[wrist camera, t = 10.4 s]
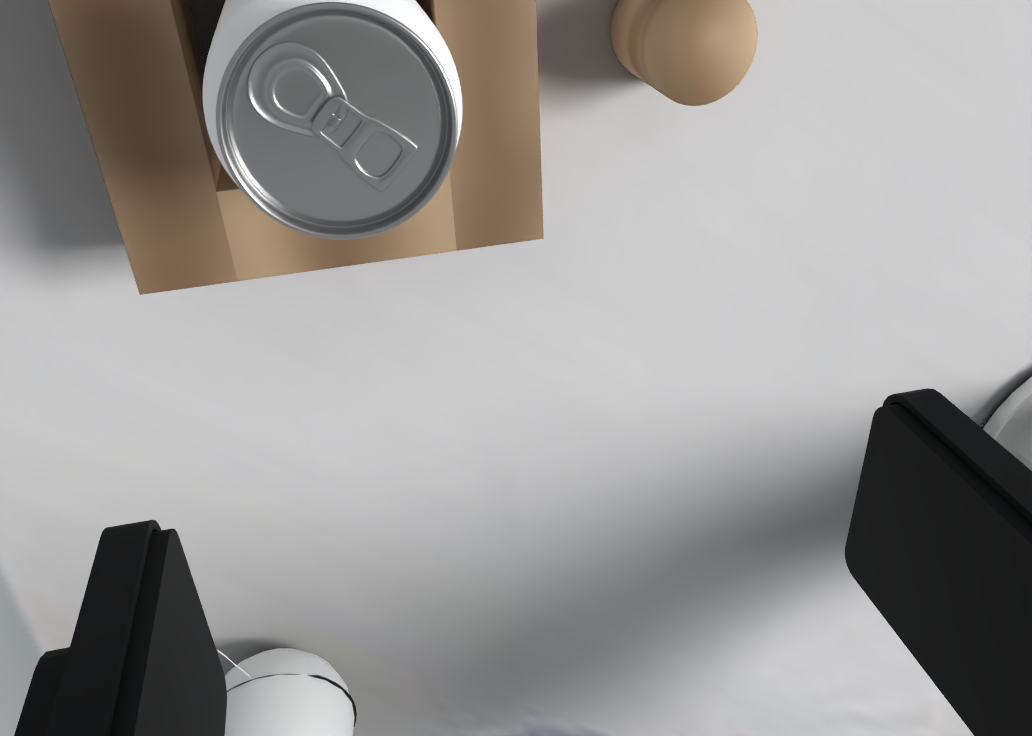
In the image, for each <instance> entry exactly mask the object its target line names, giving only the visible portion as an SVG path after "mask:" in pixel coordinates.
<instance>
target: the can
mask: <svg viewBox="0 0 1032 736" xmlns="http://www.w3.org/2000/svg"><path fill="white" fill-rule="evenodd" d="M203 109H204V116H205V122H206V126H207V130H208V134H209V137H210V140H211V143H212V145H213V148H214V150H215V152H216V154H217V156H218V158H219V160H220V162H221V164H222V165H223V167H224V168H225V170H226V171H227V173H228V174H229V176H230V177H231V178H232V180H233V181H234V182H235V183H236V184H237V185H238V187H239V188H240V189H241V190H242V191H243V193H244V194H245V195H246V196H247V197H248V198H249V200H250V201H251V202H252V203H253V204H254V205H255V206H257V207H258V208H259V209H260V210H261V211H262V212H264V213H265V214H266V215H268V216H269V217H270V218H272V219H273V220H275V221H277V222H278V223H280V224H282V225H284V226H286V227H288V228H290V229H292V230H295V231H297V232H300V233H303V234H306V235H310V236H314V237H318V238H324V239H334V240H349V239H359V238H365V237H370V236H374V235H377V234H380V233H383V232H386V231H388V230H390V229H393V228H395V227H397V226H399V225H400V224H402V223H404V222H405V221H407V220H408V219H410V218H411V217H413V216H414V215H415V214H416V213H418V212H419V211H420V210H421V209H422V208H423V207H424V206H425V205H426V204H427V203H428V202H429V201H430V200H431V199H432V198H433V196H434V195H435V194H436V192H437V191H438V189H439V188H440V186H441V185H442V183H443V181H444V179H445V178H446V176H447V173H448V171H449V169H450V166H451V163H452V161H453V157H454V153H455V150H456V147H457V144H458V140H459V136H460V131H461V124H462V93H461V86H460V81H459V77H458V73H457V70H456V66H455V63H454V61H453V58H452V56H451V53H450V51H449V49H448V47H447V45H446V43H445V41H444V40H443V38H442V36H441V35H440V33H439V31H438V30H437V28H436V27H435V25H434V24H433V23H432V21H431V20H430V18H429V17H428V16H427V14H426V13H425V12H424V11H423V9H422V8H421V7H420V6H419V4H418V3H417V2H416V1H415V0H226V1H225V4H224V6H223V9H222V12H221V15H220V18H219V21H218V24H217V27H216V30H215V33H214V37H213V40H212V43H211V46H210V50H209V53H208V57H207V61H206V66H205V72H204V78H203Z"/></svg>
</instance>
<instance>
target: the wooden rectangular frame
mask: <svg viewBox="0 0 1032 736" xmlns="http://www.w3.org/2000/svg"><path fill="white" fill-rule="evenodd" d="M48 2H49V5H50V9H51V12H52V15H53V18H54V21H55V25H56V28H57V31H58V34H59V37H60V41H61V44H62V47H63V50H64V53H65V57H66V60H67V63H68V66H69V69H70V73H71V76H72V79H73V82H74V85H75V89H76V92H77V95H78V98H79V101H80V105H81V108H82V111H83V114H84V117H85V121H86V124H87V127H88V130H89V133H90V137H91V140H92V143H93V146H94V149H95V153H96V156H97V159H98V162H99V165H100V169H101V172H102V175H103V178H104V181H105V185H106V188H107V191H108V194H109V197H110V201H111V204H112V207H113V210H114V213H115V217H116V220H117V223H118V226H119V229H120V233H121V236H122V239H123V242H124V245H125V249H126V252H127V255H128V258H129V261H130V265H131V268H132V271H133V274H134V277H135V281H136V284H137V287H138V290H139V293H140V295H142V294H149V293H156V292H163V291H170V290H177V289H185V288H192V287H199V286H206V285H213V284H220V283H228V282H235V281H242V280H249V279H256V278H264V277H271V276H278V275H285V274H292V273H299V272H307V271H314V270H321V269H328V268H335V267H342V266H350V265H357V264H364V263H371V262H378V261H385V260H393V259H400V258H407V257H414V256H421V255H429V254H436V253H443V252H450V251H457V250H464V249H472V248H479V247H486V246H493V245H500V244H507V243H515V242H522V241H529V240H536V239H543V209H542V177H541V146H540V114H539V83H538V51H537V20H536V0H417V3H418V4H419V6H420V7H421V8H422V9H423V11H424V12H425V13H426V14H427V16H428V17H429V18H430V20H431V21H432V23H433V24H434V25H435V27H436V28H437V30H438V31H439V33H440V35H441V36H442V38H443V40H444V41H445V43H446V45H447V47H448V49H449V51H450V53H451V56H452V58H453V61H454V63H455V66H456V70H457V73H458V77H459V81H460V86H461V93H462V124H461V131H460V136H459V140H458V144H457V147H456V150H455V153H454V157H453V161H452V163H451V166H450V169H449V171H448V173H447V176H446V178H445V179H444V181H443V183H442V185H441V186H440V188H439V189H438V191H437V192H436V194H435V195H434V196H433V198H432V199H431V200H430V201H429V202H428V203H427V204H426V205H425V206H424V207H423V208H422V209H421V210H420V211H419V212H418V213H416V214H415V215H414V216H413V217H411V218H410V219H408V220H407V221H405V222H404V223H402V224H400V225H399V226H397V227H395V228H393V229H390V230H388V231H386V232H383V233H380V234H377V235H374V236H370V237H365V238H359V239H349V240H334V239H324V238H318V237H314V236H310V235H306V234H303V233H300V232H297V231H295V230H292V229H290V228H288V227H286V226H284V225H282V224H280V223H278V222H277V221H275V220H273V219H272V218H270V217H269V216H268V215H266V214H265V213H264V212H262V211H261V210H260V209H259V208H258V207H257V206H255V205H254V204H253V203H252V202H251V201H250V200H249V198H248V197H247V196H246V195H245V194H244V193H243V191H242V190H241V189H240V188H239V187H238V185H237V184H236V183H235V182H234V181H233V180H232V178H231V177H230V176H229V174H228V173H227V171H226V170H225V168H224V167H223V165H222V164H221V162H220V160H219V158H218V156H217V154H216V152H215V150H214V148H213V145H212V143H211V140H210V137H209V134H208V130H207V126H206V122H205V116H204V109H203V78H204V72H205V68H204V63H203V59H202V55H201V50H200V46H199V42H198V37H197V33H196V29H195V25H194V20H193V16H192V12H191V7H190V3H189V0H48Z"/></svg>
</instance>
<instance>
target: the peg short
mask: <svg viewBox="0 0 1032 736" xmlns="http://www.w3.org/2000/svg"><path fill="white" fill-rule="evenodd" d="M757 36H758V32H757V23H756V18H755V15H754V13H753V10H752V8H751V6H750V4H749V3H748V2H747V0H618V2H617V5H616V7H615V9H614V13H613V16H612V21H611V41H612V46H613V49H614V52H615V54H616V56H617V58H618V60H619V61H620V63H621V64H622V65H623V66H624V67H625V68H626V69H627V70H628V71H629V72H631V73H632V74H634V75H635V76H637V77H638V78H640V79H641V80H643V81H644V82H646V83H647V84H649V85H650V86H652V87H653V88H655V89H656V90H657V91H659V92H660V93H662V94H663V95H665V96H666V97H668V98H670V99H671V100H673V101H675V102H677V103H680V104H683V105H690V106H699V105H705V104H709V103H712V102H714V101H716V100H718V99H720V98H722V97H724V96H725V95H727V94H728V93H729V92H730V91H732V90H733V89H734V88H735V87H736V86H737V85H738V84H739V83H740V81H741V80H742V79H743V78H744V76H745V74H746V73H747V71H748V69H749V67H750V65H751V63H752V61H753V58H754V55H755V51H756V46H757Z"/></svg>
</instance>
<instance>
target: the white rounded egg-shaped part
mask: <svg viewBox="0 0 1032 736" xmlns="http://www.w3.org/2000/svg"><path fill="white" fill-rule="evenodd" d="M217 650H218V649H217ZM218 652H219V653H221V654H222V655H223V656H225V657H226V658H227V659H228V660H230V659H229V658H228V657H227V656H226V655H224V654H223V653H222V652H220V651H219V650H218ZM230 661H231V660H230ZM231 662H232V661H231ZM232 663H233V664H234V665H235V667H233V668H232V669H231V670H230V671H229V672H228V673H227V674H226V676H225V681H226V689H227V711H226V724H225V736H353V729H354V726H355V722H356V715H357V714H356V707H355V704H354V701H353V699H352V697H351V696H350V694H349V691H348V687H347V685H346V684H345V682H344V681H343V680H342V678H341V677H340V676H339V674H338V673H337V672H336V671H335V670H334V669H333V667H332V666H331V665H330V664H329V663H328V662H327V661H325V660H324V659H322V658H320V657H319V656H317V655H315V654H312V653H308V652H304V651H301V650H297V649H293V648H277V649H272V650H267V651H264V652H261V653H259V654H257V655H254V656H252V657H250V658H247V659H245V660H243V661H241V662H240V663H239V664H237V665H236V664H235V663H234V662H232Z"/></svg>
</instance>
